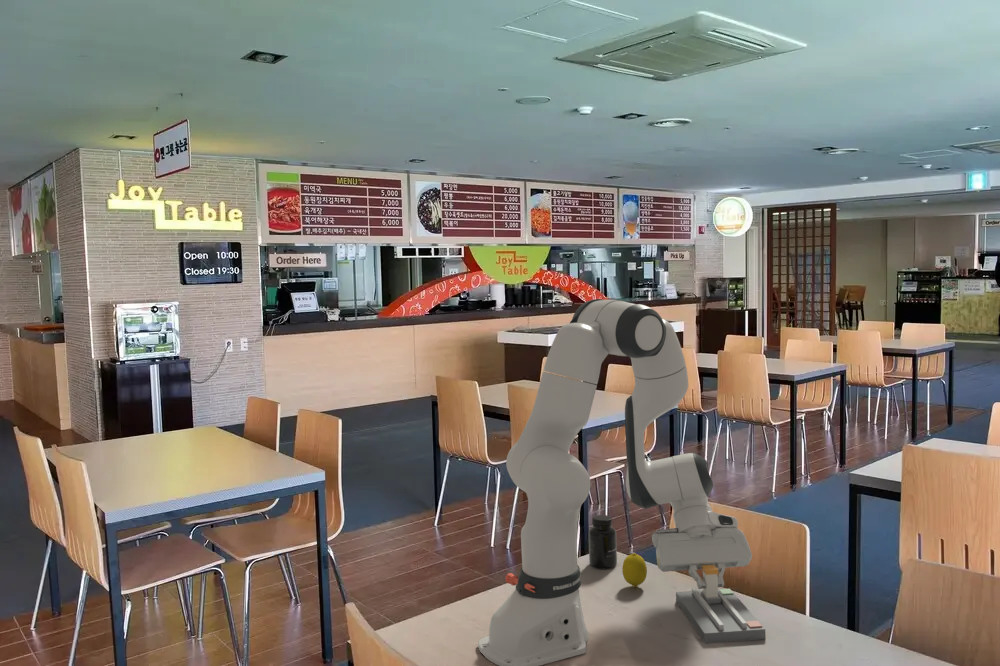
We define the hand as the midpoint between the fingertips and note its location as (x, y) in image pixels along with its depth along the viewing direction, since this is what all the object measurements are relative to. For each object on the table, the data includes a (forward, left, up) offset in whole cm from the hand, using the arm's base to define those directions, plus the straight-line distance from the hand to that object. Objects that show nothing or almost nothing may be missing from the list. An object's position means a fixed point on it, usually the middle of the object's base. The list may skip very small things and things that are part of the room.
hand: (711, 587), depth 167 cm
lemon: (-3, +20, -5) cm, 21 cm away
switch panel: (-2, -3, -5) cm, 6 cm away
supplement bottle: (+1, +35, -5) cm, 35 cm away
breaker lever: (0, +1, -3) cm, 3 cm away
